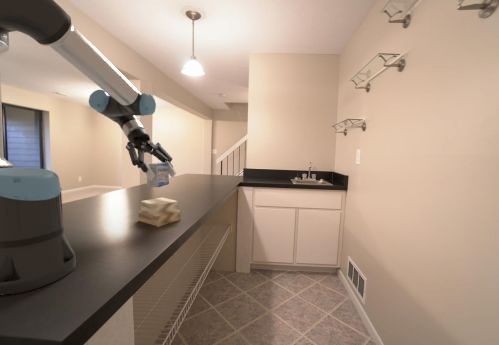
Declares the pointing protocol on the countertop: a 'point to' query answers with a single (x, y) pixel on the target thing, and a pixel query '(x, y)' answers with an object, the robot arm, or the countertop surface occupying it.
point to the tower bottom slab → (159, 218)
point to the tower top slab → (159, 206)
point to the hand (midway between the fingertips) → (163, 176)
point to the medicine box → (159, 175)
